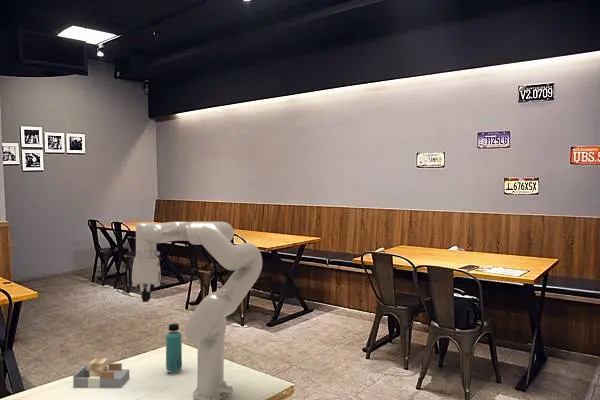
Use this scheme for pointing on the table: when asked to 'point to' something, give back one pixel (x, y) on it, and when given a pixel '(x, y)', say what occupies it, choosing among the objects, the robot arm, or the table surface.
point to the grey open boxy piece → (101, 377)
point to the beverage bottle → (173, 349)
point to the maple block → (98, 366)
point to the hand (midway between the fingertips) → (146, 301)
